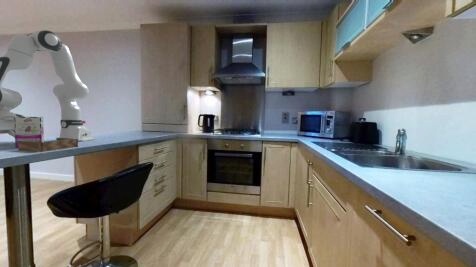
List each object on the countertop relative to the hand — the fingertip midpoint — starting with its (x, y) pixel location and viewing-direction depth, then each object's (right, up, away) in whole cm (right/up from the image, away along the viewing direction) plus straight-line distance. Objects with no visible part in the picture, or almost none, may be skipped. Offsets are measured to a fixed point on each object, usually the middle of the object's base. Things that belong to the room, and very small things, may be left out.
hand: (18, 137), depth 130 cm
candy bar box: (+7, -5, -1) cm, 9 cm away
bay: (+19, -6, -3) cm, 20 cm away
